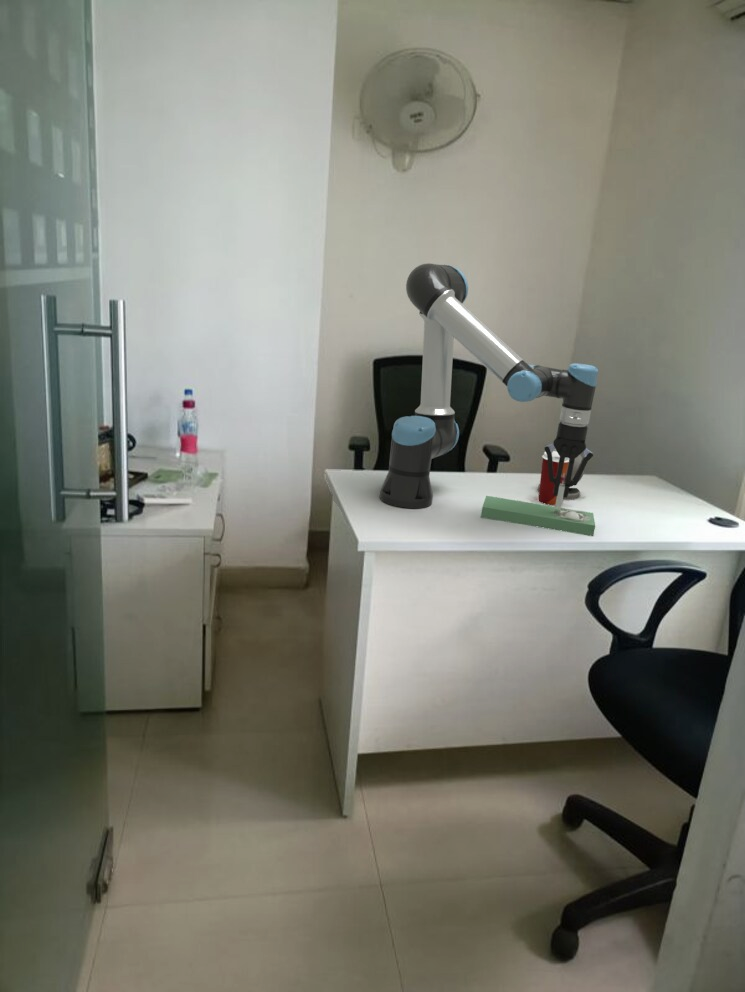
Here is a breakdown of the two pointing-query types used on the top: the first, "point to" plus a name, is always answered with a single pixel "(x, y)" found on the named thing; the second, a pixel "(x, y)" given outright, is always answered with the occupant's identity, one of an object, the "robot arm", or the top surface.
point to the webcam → (572, 492)
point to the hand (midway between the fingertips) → (557, 507)
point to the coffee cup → (545, 484)
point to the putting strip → (537, 515)
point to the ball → (572, 515)
